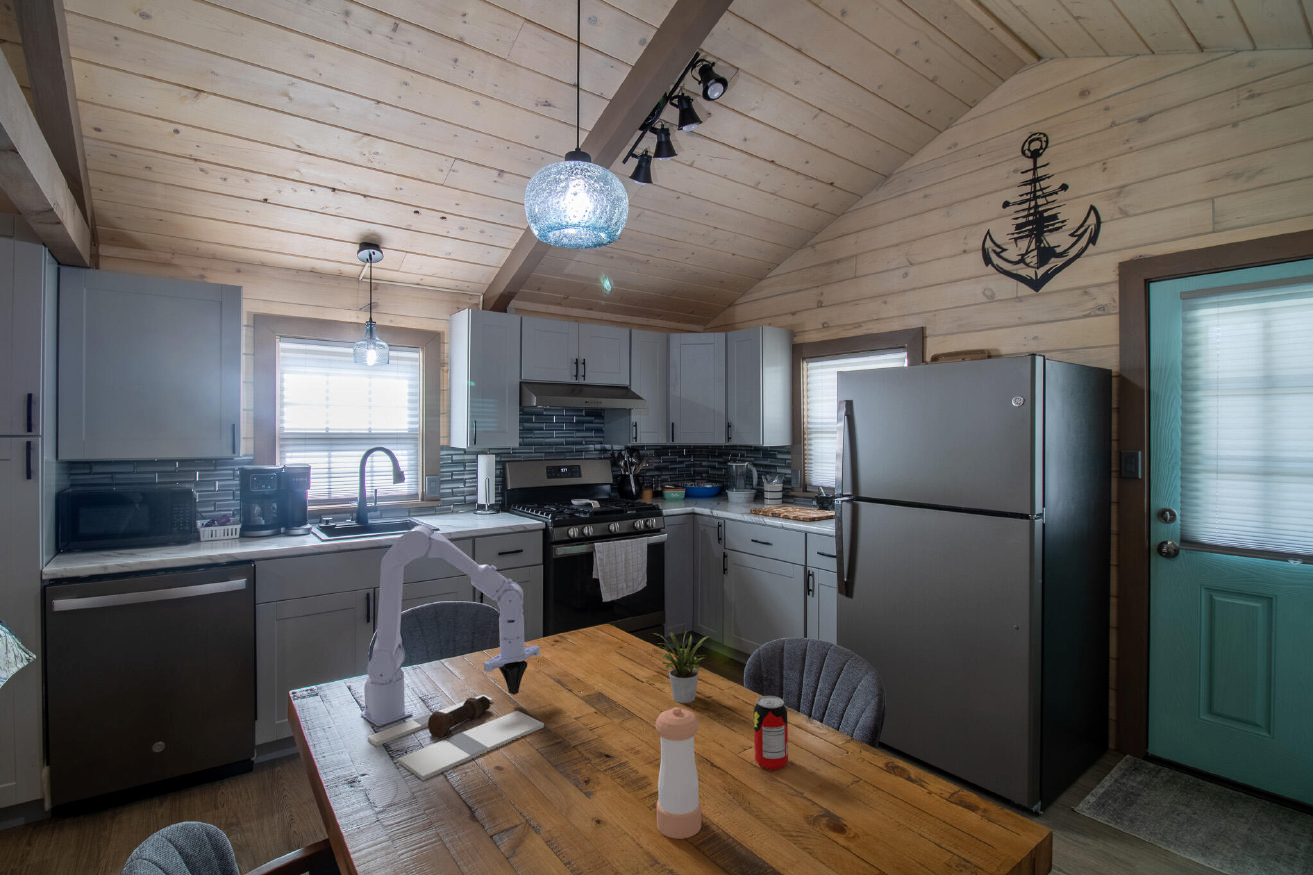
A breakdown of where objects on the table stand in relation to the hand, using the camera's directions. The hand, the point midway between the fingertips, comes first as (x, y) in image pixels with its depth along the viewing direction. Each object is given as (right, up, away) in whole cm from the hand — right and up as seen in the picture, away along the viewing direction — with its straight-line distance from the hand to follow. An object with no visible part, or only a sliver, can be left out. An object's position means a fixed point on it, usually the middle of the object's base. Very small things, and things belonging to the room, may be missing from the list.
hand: (513, 692), depth 152 cm
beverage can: (+56, -2, -29) cm, 63 cm away
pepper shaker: (+38, -3, -48) cm, 61 cm away
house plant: (+39, -2, +1) cm, 39 cm away
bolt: (-9, -4, -9) cm, 13 cm away
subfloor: (-9, -3, -14) cm, 17 cm away
